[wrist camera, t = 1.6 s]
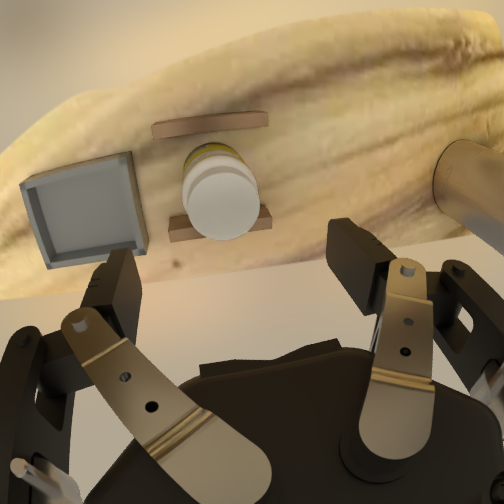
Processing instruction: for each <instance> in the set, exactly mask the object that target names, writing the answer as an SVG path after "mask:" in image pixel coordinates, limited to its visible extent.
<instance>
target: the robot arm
mask: <svg viewBox="0 0 504 504" xmlns="http://www.w3.org/2000/svg"><path fill="white" fill-rule="evenodd" d="M433 188H434V197H435V201H436V203H437V205H438V207H439V209H440V210H441V211H442V212H444V213H445V214H447V215H448V216H450V217H451V218H453V219H454V220H455V221H457V222H458V223H460V224H461V225H463V226H464V227H465V228H467V229H468V230H470V231H471V232H472V233H474V234H475V235H476V236H478V237H480V238H481V239H482V240H483V241H485V242H486V243H487V244H489V245H490V246H492V247H493V248H494V249H495V250H497V251H498V252H499V253H500V254H502V255H503V256H504V154H501V153H499V152H497V151H494V150H492V149H490V148H487V147H484V146H482V145H479V144H477V143H474V142H471V141H468V140H458V141H456V142H454V143H452V144H451V145H450V146H449V147H448V148H447V149H446V150H445V152H444V153H443V154H442V156H441V158H440V160H439V162H438V165H437V168H436V171H435V176H434V186H433ZM326 259H327V263H328V266H329V267H330V269H331V270H332V271H333V273H334V274H335V275H336V277H337V278H338V280H339V281H340V282H341V284H342V285H343V287H344V288H345V289H346V291H347V292H348V294H349V295H350V296H351V298H352V299H353V301H354V302H355V304H356V305H357V306H358V308H359V309H360V311H361V312H362V313H363V315H364V316H367V315H371V314H375V313H376V314H377V319H376V322H375V327H374V332H373V336H372V340H371V345H370V348H369V351H367V350H363V349H359V348H349V347H341V345H340V343H339V341H338V339H337V338H335V339H332V340H327V341H323V342H319V343H315V344H310V345H306V346H304V347H301V348H299V349H297V350H295V351H292V352H290V353H288V354H286V355H284V356H281V357H279V358H277V359H274V360H236V359H234V360H228V361H222V362H215V363H209V364H201V365H199V367H200V375H199V376H197V377H194V378H192V379H190V380H188V381H186V382H184V383H183V384H181V385H180V386H179V387H177V386H175V385H174V384H173V383H172V382H171V381H170V380H169V379H168V378H167V377H166V376H165V375H163V373H162V372H161V371H160V370H159V369H157V368H156V367H155V366H154V365H153V364H152V363H151V362H150V361H149V360H148V359H147V358H146V357H145V356H144V355H143V354H142V353H141V352H140V351H139V350H138V348H137V347H136V346H135V344H136V335H137V327H138V319H139V312H140V305H141V298H142V286H141V280H140V277H139V274H138V270H137V267H136V263H135V259H134V256H133V252H132V250H131V248H130V247H125V248H118V249H112V250H111V252H110V255H109V257H108V260H107V263H102V264H100V266H99V267H98V268H97V269H96V270H95V271H94V272H93V275H92V277H91V281H90V282H89V285H88V288H87V290H86V292H85V295H84V297H83V300H82V303H81V306H80V308H78V309H76V310H74V311H72V312H70V313H69V314H68V315H67V316H66V317H65V318H64V319H63V321H62V323H61V330H58V331H55V332H53V333H50V334H47V335H44V336H42V334H41V333H40V331H39V329H38V328H37V327H35V326H26V327H23V328H21V329H19V330H18V331H16V332H15V333H14V334H13V336H11V338H10V340H9V342H8V344H7V347H6V349H5V352H4V354H3V357H2V360H1V362H0V504H504V447H503V441H504V300H503V299H502V298H501V297H500V296H499V294H498V293H497V292H495V291H494V289H493V288H492V287H490V285H489V284H487V282H485V281H484V280H483V279H482V278H481V277H480V276H479V275H478V274H477V273H476V272H475V271H474V270H473V269H472V268H471V267H470V266H468V265H467V264H465V263H463V262H461V261H457V260H446V261H445V262H444V263H443V265H442V269H441V271H440V272H426V270H425V268H424V267H423V266H422V265H421V264H420V263H419V262H417V261H414V260H412V259H408V258H397V257H396V256H395V255H394V254H393V253H392V252H391V251H390V250H389V249H388V248H387V247H386V246H385V245H382V243H381V242H380V241H379V240H377V238H376V237H375V236H374V235H373V234H371V233H370V232H369V231H367V230H364V229H362V228H360V227H358V226H357V225H356V224H354V223H353V222H352V221H351V220H350V219H349V218H338V219H331V220H330V221H329V223H328V233H327V246H326ZM462 306H463V307H464V309H465V310H466V311H467V312H468V313H469V314H470V316H471V317H472V319H473V324H474V325H473V330H472V332H471V333H470V332H469V331H468V330H467V328H466V327H465V326H464V325H463V324H462V322H461V321H460V320H459V319H458V315H459V313H460V311H461V308H462ZM433 339H434V341H435V342H436V344H437V345H438V346H439V348H440V349H441V351H442V352H443V354H444V355H445V356H446V358H447V359H448V361H449V362H450V364H451V365H452V367H453V368H454V370H455V371H456V373H457V374H458V376H459V378H460V379H461V381H462V382H463V384H464V385H465V387H466V388H467V390H468V392H469V393H470V396H468V395H465V394H463V393H461V392H459V391H456V390H454V389H452V388H449V387H447V386H445V385H443V384H440V383H438V382H436V381H434V380H432V379H431V378H432V361H433ZM92 385H95V386H96V388H97V389H98V391H99V392H100V393H101V395H102V396H103V398H104V399H105V400H106V402H107V403H108V404H109V406H110V407H111V408H112V410H113V411H114V412H115V414H116V415H117V416H118V418H119V419H120V420H121V421H122V422H123V424H124V425H125V426H126V428H127V429H128V430H129V431H130V433H131V434H132V435H133V436H134V437H135V438H134V439H133V440H132V441H131V443H130V444H129V445H128V446H127V447H126V449H125V450H124V451H123V453H122V454H121V455H120V456H119V457H118V459H117V460H116V461H115V462H114V464H113V465H112V466H111V467H110V469H109V470H108V471H107V472H106V473H105V475H104V476H103V477H102V478H101V480H100V481H99V482H98V483H97V484H96V486H95V487H94V488H93V489H92V490H91V492H90V493H89V494H88V496H87V497H86V499H85V501H84V503H83V502H82V499H81V497H80V490H79V487H78V485H77V483H76V482H75V480H74V479H73V478H72V477H70V476H69V453H70V437H71V425H72V415H73V406H74V398H75V391H77V390H81V389H84V388H87V387H90V386H92ZM36 388H37V389H38V393H37V398H36V403H35V393H36Z"/></svg>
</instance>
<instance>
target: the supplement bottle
mask: <svg viewBox="0 0 504 504" xmlns="http://www.w3.org/2000/svg"><path fill="white" fill-rule="evenodd" d="M182 203H183V206H184V209H185V211H186V212H187V214H188V216H189V219H190V221H191V223H192V225H193V227H194V228H195V229H196V230H197V231H198V232H199V233H200V234H202V235H203V236H205V237H207V238H210V239H214V240H221V241H225V240H231V239H235V238H237V237H239V236H241V235H243V234H245V233H246V232H247V231H248V230H249V229H250V228H251V227H252V226H253V225H254V223H255V222H256V220H257V218H258V215H259V211H260V200H259V195H258V188H257V183H256V179H255V177H254V175H253V173H252V172H251V170H250V169H249V167H248V166H247V165H246V164H245V162H244V161H243V160H242V159H241V157H240V156H239V155H238V154H237V152H236V151H235V150H233V149H232V148H231V147H229V146H227V145H225V144H222V143H215V142H214V143H207V144H203V145H201V146H199V147H197V148H196V149H194V150H193V151H192V152H191V153H190V155H189V156H188V157H187V159H186V161H185V164H184V169H183V181H182Z"/></svg>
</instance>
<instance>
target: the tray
mask: <svg viewBox="0 0 504 504" xmlns="http://www.w3.org/2000/svg"><path fill="white" fill-rule="evenodd" d="M19 186H20V189H21V193H22V197H23V200H24V204H25V207H26V210H27V214H28V217H29V220H30V223H31V226H32V229H33V232H34V235H35V238H36V241H37V243H38V246H39V249H40V252H41V254H42V257H43V259H44V262H45V264H46V267H47V269H48V270H49V269H55V268H61V267H68V266H74V265H81V264H87V263H94V262H100V261H107V260H108V257H109V255H110V252H111V250H112V249H118V248H125V247H130V248H131V250H132V252H133V256H140V255H146V254H147V249H148V245H149V239H148V234H147V230H146V226H145V221H144V216H143V212H142V207H141V202H140V197H139V192H138V187H137V181H136V176H135V170H134V164H133V158H132V152H131V151H129V152H124V153H119V154H114V155H110V156H105V157H100V158H96V159H92V160H88V161H84V162H79V163H75V164H72V165H68V166H64V167H60V168H57V169H53V170H50V171H46V172H43V173H39V174H36V175H33V176H30V177H29V178H27V179H26V180H24V181H23V182H21V183H20V184H19Z"/></svg>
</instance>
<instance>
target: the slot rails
mask: <svg viewBox="0 0 504 504" xmlns="http://www.w3.org/2000/svg"><path fill="white" fill-rule="evenodd" d="M267 126H268V113H267V112H264V111H246V112H233V113H222V114H212V115H204V116H195V117H188V118H181V119H174V120H167V121H161V122H155V123H154V124H153V125H152V126H151V127H152V135H153V140H154V139H160V138H166V137H173V136H179V135H186V134H194V133H202V132H210V131H219V130H229V129H240V128H252V127H267ZM264 229H272V216H271V215H270V213H269V211H268V210H267V208H266V206H265V205H263V206H260V211H259V215H258V218H257V220H256V222H255V223H254V225H253V226H252V227H251V228H250V229H249V230H248V231H247V232H249V231H257V230H264ZM168 233H169V238H170V243H171V242H177V241H184V240H191V239H198V238H205V236H203V235H202V234H200V233H199V232H198V231H197V230H196V229H195V228H194V227H193V225H192V223H191V221H190V219H189V216H188V215H187V216H180V217H173V218H170V222H169V229H168Z"/></svg>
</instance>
